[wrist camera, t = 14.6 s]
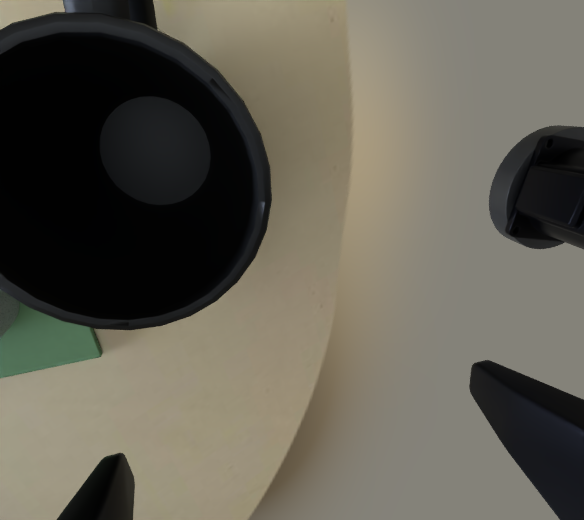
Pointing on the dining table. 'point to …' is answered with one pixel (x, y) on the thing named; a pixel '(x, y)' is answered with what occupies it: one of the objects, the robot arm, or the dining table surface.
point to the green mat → (44, 343)
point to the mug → (122, 170)
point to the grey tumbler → (7, 311)
